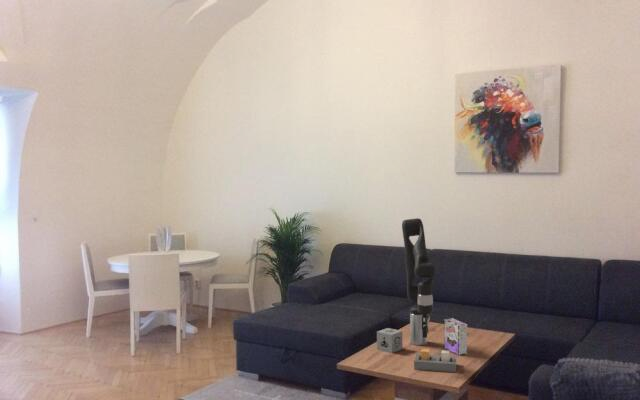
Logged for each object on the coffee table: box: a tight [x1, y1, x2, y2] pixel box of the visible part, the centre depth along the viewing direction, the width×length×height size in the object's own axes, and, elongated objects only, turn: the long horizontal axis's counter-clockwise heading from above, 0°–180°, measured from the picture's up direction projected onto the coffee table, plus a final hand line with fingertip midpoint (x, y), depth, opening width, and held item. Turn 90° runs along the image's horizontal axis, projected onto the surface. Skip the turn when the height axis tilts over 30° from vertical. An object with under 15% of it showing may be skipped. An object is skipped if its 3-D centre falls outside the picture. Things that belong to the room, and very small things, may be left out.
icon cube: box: [376, 327, 403, 354], centre depth 320 cm, size 10×10×10 cm
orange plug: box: [420, 348, 431, 360], centre depth 291 cm, size 4×4×7 cm
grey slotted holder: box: [413, 349, 457, 373], centre depth 290 cm, size 12×20×8 cm, turn 75°
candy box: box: [443, 317, 468, 356], centre depth 314 cm, size 14×6×16 cm, turn 21°
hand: (425, 334), depth 290 cm, fingers open, 8 cm apart
